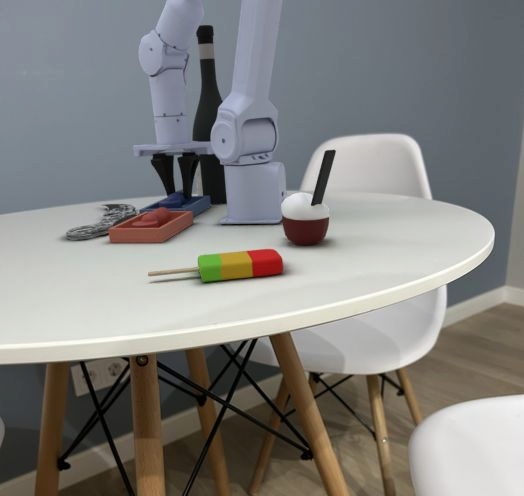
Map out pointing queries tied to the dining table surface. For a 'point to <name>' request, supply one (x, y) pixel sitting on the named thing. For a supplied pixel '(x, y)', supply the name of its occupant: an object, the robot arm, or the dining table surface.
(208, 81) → the wine bottle
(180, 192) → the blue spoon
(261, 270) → the popsicle
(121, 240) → the red tray
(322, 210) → the cocoa
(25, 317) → the dining table surface
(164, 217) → the red lobed piece
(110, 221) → the marbled grey crescent
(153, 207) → the blue tray
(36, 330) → the dining table surface
